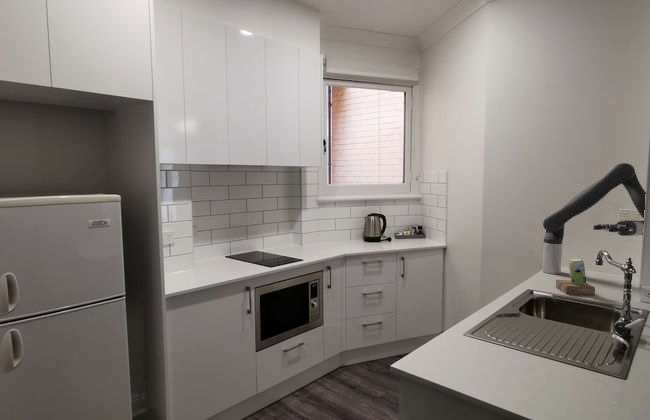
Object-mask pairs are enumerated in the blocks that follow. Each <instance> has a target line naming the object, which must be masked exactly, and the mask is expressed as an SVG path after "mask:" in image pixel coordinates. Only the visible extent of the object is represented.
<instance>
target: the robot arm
mask: <svg viewBox="0 0 650 420" xmlns="http://www.w3.org/2000/svg"><path fill="white" fill-rule="evenodd" d="M620 185H623V187H624V189H625V190H626V191H627V193H628V195H629V197H630V199H631V201H632V203H633V205H634V207H635V209H636V210H637V212H638V214H639V216H640V217H641V218H643V219H645V218H644V210H645V194H647V192H646V191H645V189H644V188H643V187H642V184H641V183H640V181H639V179H638V177H637V173H636V169H635V167H634V166H633V165H632V164H630V163H628V162H627V163H626V162H621V163H618V164H616V165H615V166H614V167H613V168H612V169H611V170H609V171H608V172H607V173H606V175H604V176H603V177H602V178H600V179H599V180H598V181H595V182H593V184H591V185H589V186H588V187H586V188H584V189H583V190H581V192H579V193H577V194H576V195H575V196H574V197H573V198H571V199H570V200H569V201H568V202H566V204H565V205H563V207H561V208H559V209H558V210H557V211H555V212H553V213H552V214H550V215H548V216H547V217H545V218H544V220H543V221H542V222H543V223H542V227H543V229H544V230H545V233H544V234H545V235H544V237H543V251H542V272H543V273H545V274H552V275H558V274H559V275H560V274H561V273H562V258H563V257H562V255H563V239H564V235H565V234H564V233H565V224H566V223H567V222H569V220H571V219H572V218H574V217H576V216H578V215H580V214H582V213H584V212H585V211H588V210H589V209H590V208H592V207H593V206H594V205H596V204H597V203H599V202H600V201H601V200H602V199H604V197H606V196H607V195H608V194H609V193H610V192H611V191H612V190H614V189H615V188H616V187H618V186H620ZM644 221H645V220H634V219H632V220H631V219H630V220H619V221H617V222H616V223H606V224H605V223H603V224H599V223H598V224H596V225H595V224H594V225H593V227H592V229H593V230H594V231H595V230H596V231H599V230H600V231H606V232H609V233H617V234H618V235H619V236H621V237H622V236H624V237H626V236H627V237H630V236H644V235H643V227H644Z"/></svg>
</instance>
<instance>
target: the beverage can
mask: <svg viewBox="0 0 650 420" xmlns="http://www.w3.org/2000/svg"><path fill="white" fill-rule="evenodd" d="M568 265H569V266H568V267H569V275H570V280H571V282H572V283H573V284H576V285H582V284H585V283H587V278H586V277H587V276H586V275H587V274H586V269H585V262H584V261H583V259H582V258H571V259H569V261H568Z"/></svg>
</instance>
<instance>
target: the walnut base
mask: <svg viewBox="0 0 650 420" xmlns="http://www.w3.org/2000/svg"><path fill="white" fill-rule="evenodd" d="M555 289H557V290H559V291H560V292H561V293H563V294H565V295H567V296H568V295H569V296H586V297H587V296H590V297H595V296H596V287H595V286H594V285H591V284H590V283H588V282H586V283H585V284H582V285H576V284H573V283H572V282H571V279H570V280H569V279H556V280H555Z"/></svg>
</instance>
